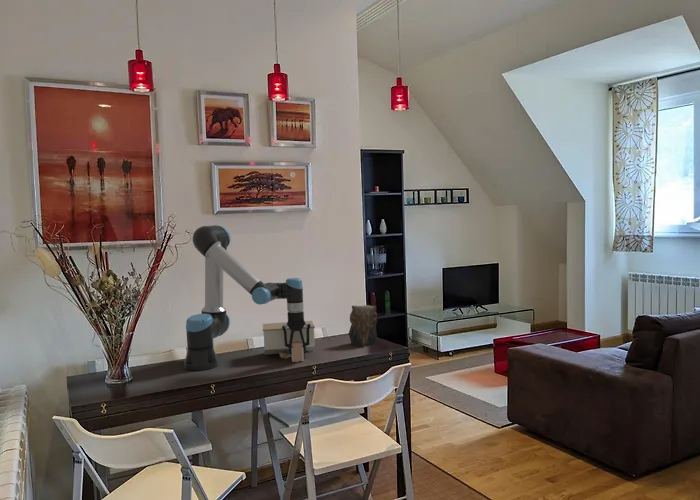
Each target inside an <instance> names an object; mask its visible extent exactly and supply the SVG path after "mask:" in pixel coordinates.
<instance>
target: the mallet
mask: <svg viewBox="0 0 700 500" xmlns="http://www.w3.org/2000/svg"><path fill="white" fill-rule="evenodd" d="M286 351H289V348H285V349H279V354H278V355H279V356H280V352H286ZM293 356H294V362H296V363H300V362H299V361H302V343H301V341H294V342H293ZM294 362H293V363H294ZM302 362H303V361H302Z"/></svg>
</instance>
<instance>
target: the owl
mask: <svg viewBox="0 0 700 500" xmlns="http://www.w3.org/2000/svg"><path fill="white" fill-rule="evenodd" d="M351 308H352V309H351V312H350V314H349V322H350V324H351V325H350V327H349V331H348V336H349V339H350V340H349V341H350V344H351V345H353V344H354V345H353V346H357V345H358V346H357V347H360V346H362V348H366V347H369V346H373V345H374V344H376V340H377V338H378V331H377V327H376V326H377V323H378V313H377V305H370V304H365V305H352V306H351ZM365 346H366V347H365Z"/></svg>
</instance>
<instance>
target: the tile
mask: <svg viewBox="0 0 700 500" xmlns="http://www.w3.org/2000/svg"><path fill="white" fill-rule="evenodd" d="M280 357H281V358H284V359H289V358H288V357H291V358H292V354H291V355H290V354H289V351H286V352H280V355H279V358H280ZM281 358H280V359H281Z"/></svg>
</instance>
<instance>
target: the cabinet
mask: <svg viewBox="0 0 700 500" xmlns="http://www.w3.org/2000/svg"><path fill="white" fill-rule="evenodd" d="M304 321H305V323H309V324H310V325H311V326H310V329H309V345H307V346H306V351H308V352H313V351H314V350H313V349H314V347H316V345H315V343H316V342H315V328H316V327H315V326H316V325H315V324H314V322H313V321H312V320H304ZM287 322H288V321H286V322H271V323H262V332H263V347H264V348H263V351H264V355H279V349H285V348H288V347H285V341H284V331H283V329H282V326H283V325H286V324H287ZM286 333H287V344H289V340H290V334H291V329H290V328H289V327H287V329H286ZM302 333H303V337H304V341H305V343H306V327H305V325H304V327H303V328H302ZM294 341H301V343H302V340H301V336H300V332H299V331H295V332H294V335H293V341H292V347H293V342H294ZM302 346H303V344H302Z"/></svg>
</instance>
